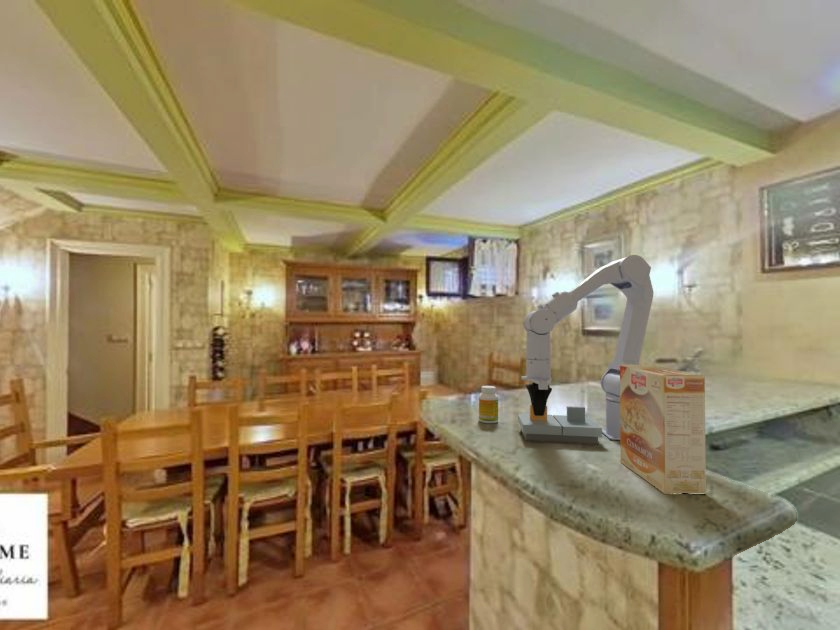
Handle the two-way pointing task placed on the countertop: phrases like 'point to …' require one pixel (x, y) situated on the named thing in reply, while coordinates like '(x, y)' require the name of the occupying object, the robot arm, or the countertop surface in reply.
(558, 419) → the lid segment
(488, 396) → the supplement bottle
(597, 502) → the countertop surface
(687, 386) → the coffeecake box
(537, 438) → the parts tub
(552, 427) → the tabbed lid segment
